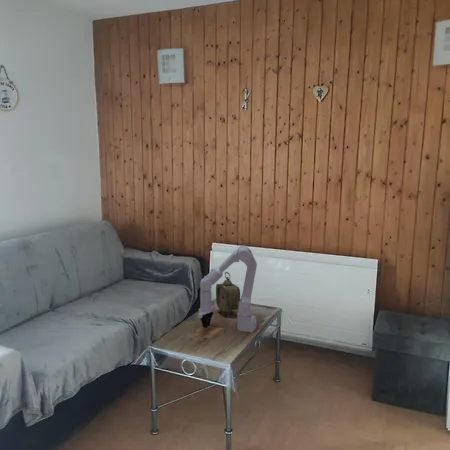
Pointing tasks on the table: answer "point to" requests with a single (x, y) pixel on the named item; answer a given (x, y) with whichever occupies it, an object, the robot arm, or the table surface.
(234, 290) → the tabletop clock
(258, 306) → the table surface
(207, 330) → the board
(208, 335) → the laid row
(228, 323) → the table surface
